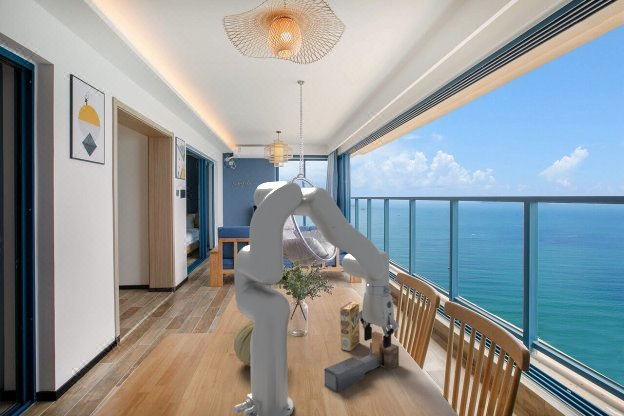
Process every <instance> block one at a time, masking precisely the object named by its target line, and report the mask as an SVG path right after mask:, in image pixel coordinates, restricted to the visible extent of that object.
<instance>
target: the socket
mask: <svg viewBox="0 0 624 416" xmlns="http://www.w3.org/2000/svg"><path fill="white" fill-rule="evenodd" d="M399 347H400V346H399V345H397V344H393V343H391V346H390V347H388V348H383V347H382V353H383V354H384V364H382V365H380V366H379V367H381V366H382V367H381V368H384V369H385V370H388V371H390V370H393V369H394V368H396V367H398V366H399V364H400V363H399V361H400V360H399V356H400V355H399V353H400V352H399V351H400V350H399ZM370 354H372V341H371V342H369V355H370ZM397 365H398V366H397Z"/></svg>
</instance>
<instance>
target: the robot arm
mask: <svg viewBox="0 0 624 416" xmlns="http://www.w3.org/2000/svg"><path fill="white" fill-rule="evenodd" d="M253 202H254V204H255V206H256V209H255V210H254V212H253V215H252V218H251V219H250V223H249V224H250V225H249V242H248V243H249V244H248V245H245V246H243V247H242V248H241V249H240V250H239V252H237V254H236V256H235V260H234V265H233V272H234V274H233V275H234V295H235V296H234V297H235V304H236V308H237V309H238V310H237V311H239V313H240V314H241V315H242V316H243V317H245V318H246V319H248V320H250V321H253V322H254V328H253V332H252V335H251V341H250V356H251V367H250V393H248V394H247V395H246V396H247V397H246V398H247V399H245V400H244V402H242V403H239V404H237V405H234V406H233V407H232V409H233V413H234V414H235V415H239V414H240V413H243V416H291V415H292V413H293V411H294V410H295V409H294V408H295V407H294V405H295V404H294V401H293V399H292V398H291V397H289V396H288V395H289V394H288V390H289V389H288V328H289V322H290V318H291V306H290V302H289V300H288V298H287V297H286V296H285V295H284V294H283V293H282V292H281V291H278V290H276V289H274V288H271V287H268V286H274V285H276V284H278V283H279V282H280V281H281V280H282V279H283V275H284V270H285V269H284V268H285V267H284V262H285V261H284V245H283V244H284V240H283V237H284V227H285V225H286V222H288V221H287V220H288V219H289V218H290V216H301V217H308V218H309V219H310V220H311V222H312V223H313V224H314V226H315V227H316V228H317V230H318V231H319V233H320V234H321V236H322V237H323V238H324V240H325V241H326V242H327V243H328V244H330V245H331V246H333V247H335V248H337V249H339V250H341V251H343V252H345V253H347V254H346V255H344V257H343V258H342V260H341V268H342V270H343V271H344V272H345V274H347V275H349V276H352V277H356V278H358V279H359V278H360V279H363V280H365V292H364V293H363V299H362V309H361V310H359V313H358V316H359V322H360V324H361V325H362V329H363V336H364V337H363V340H364V341H365V342H368V341H369V340H372V332H373V327H372V326H371V325H374V326H377V327H380V328H382V331H383V334H384V335H383V348H388V347H390V346H391V344H392V335H393V334H394V333H395V332H396V331H397V330H398V329H399V328H400V325H399V324H398V322H397V320H395V308H394V301H393V296H392V295H391V293H392V290H393V289H391V288H390V255H389V253H388V252H387V251H385V250H384V251H383V250H378V248H377V247H376V245H375V244H374V243H373V242H372V241H371V239H369V238H368V237H366V236H365V235H364V234H362V233H361V231H360V230H358V229H357V228H356V227H354V226H353V225H352V224H350V223H349V221H348V219H346V217H345V216H344V213H343V212H342V211H341V209H340V207H339V206H338V205H337V203H336V202H335V200H334V198H333V197H332V195H331V194H330V192H328V190H326V189H325V188H324V187H315V186H314V187H313V186H312V187H311V186H310V187H308V186H307V187H301V186H300V184H298V183H296V182H293V181H289V180H284V181H283V180H282V181H271V182H269V181H268V182H264V183H262V184H259V185H258V186H257V188H255V190H254V193H253Z"/></svg>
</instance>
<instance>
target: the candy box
mask: <svg viewBox="0 0 624 416" xmlns="http://www.w3.org/2000/svg"><path fill="white" fill-rule="evenodd" d="M339 310H340V311H339V312H340V313H339V314H340V316H339V317H340V323H339V324H340V350H344V351H348V352H351V351H352V350H353V349H354V348H355V347H357V346H358V345H359V344H360V338H361V337H360V336H361V335H360V334H361V333H360V318H359V316H358V313H359V312H360V303H359V302H354V301H353V302H352V301H349V302H348V303H347V304H345V305H344V306H341V307H340V309H339Z"/></svg>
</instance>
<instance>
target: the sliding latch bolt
mask: <svg viewBox="0 0 624 416" xmlns="http://www.w3.org/2000/svg"><path fill="white" fill-rule="evenodd" d="M383 334H384V333H381V332H378V331H372V339H371V342H372V354H370V353H369V354H368V355H366V356H363V357H362V358H359V359H358V360H360V361H363V362H365V373H367V372H369V371H372V370H373V369H376V368H379V367H381V366H380V365H382V364H384V354H383V353H382V347H383V336H384V335H383Z"/></svg>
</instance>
